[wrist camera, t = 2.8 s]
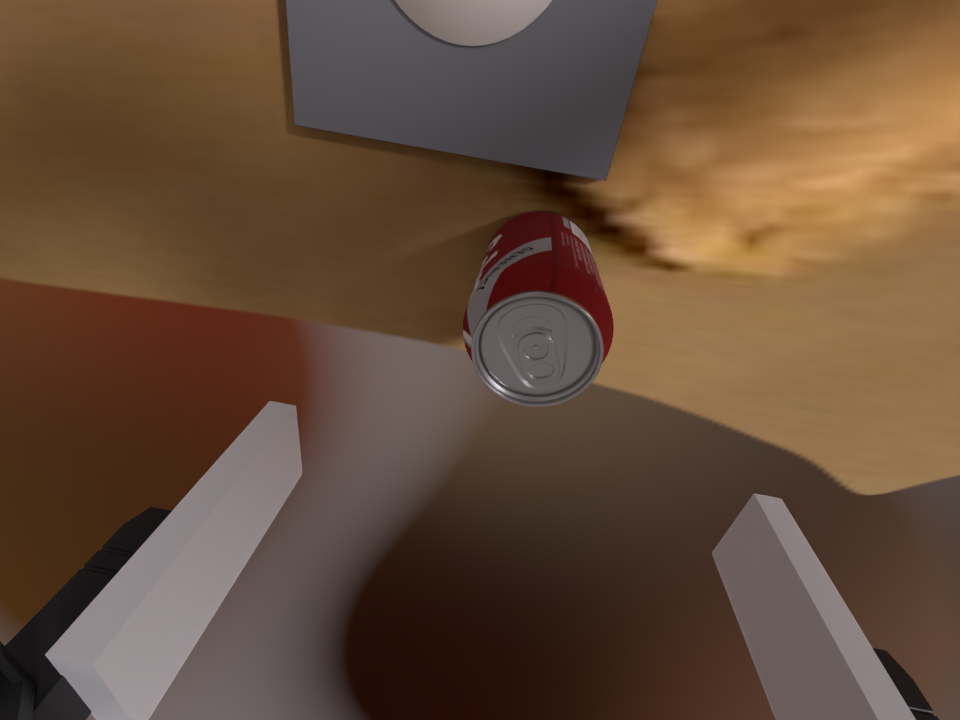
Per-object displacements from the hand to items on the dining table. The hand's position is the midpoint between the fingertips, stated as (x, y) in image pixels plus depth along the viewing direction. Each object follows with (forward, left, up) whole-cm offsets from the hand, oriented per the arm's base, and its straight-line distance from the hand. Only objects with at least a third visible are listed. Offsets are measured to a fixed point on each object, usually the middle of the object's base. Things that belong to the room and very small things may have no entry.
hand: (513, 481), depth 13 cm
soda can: (-1, +1, -19) cm, 19 cm away
